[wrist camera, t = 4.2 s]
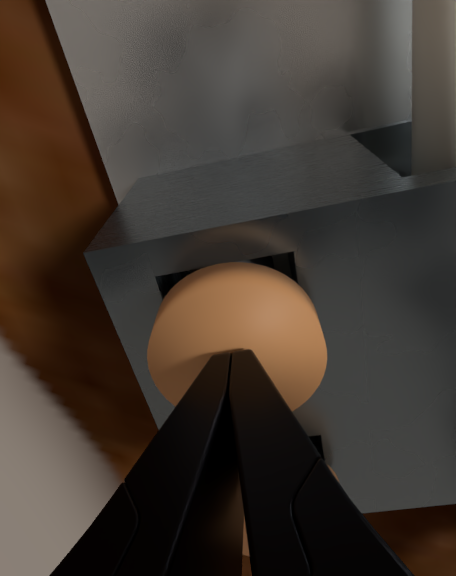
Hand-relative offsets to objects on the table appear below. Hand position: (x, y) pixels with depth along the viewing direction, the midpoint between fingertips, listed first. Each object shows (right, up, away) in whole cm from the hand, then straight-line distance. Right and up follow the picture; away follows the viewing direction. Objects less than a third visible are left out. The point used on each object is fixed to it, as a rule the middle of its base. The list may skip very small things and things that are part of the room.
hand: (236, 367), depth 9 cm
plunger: (0, +2, +3) cm, 4 cm away
